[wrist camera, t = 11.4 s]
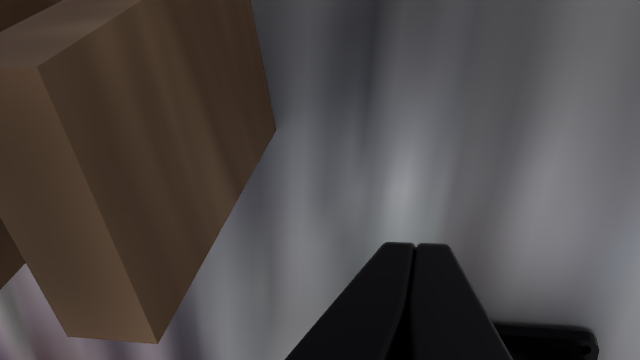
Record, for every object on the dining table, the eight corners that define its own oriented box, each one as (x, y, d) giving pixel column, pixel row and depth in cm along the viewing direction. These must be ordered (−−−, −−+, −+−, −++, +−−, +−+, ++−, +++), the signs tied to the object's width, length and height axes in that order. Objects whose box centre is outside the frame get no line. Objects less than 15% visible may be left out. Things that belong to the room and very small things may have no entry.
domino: (237, -61, 14) (36, 66, 7) (275, 130, 17) (157, 344, 10) (167, -53, 15) (-81, 73, 8) (216, 131, 18) (67, 336, 11)
